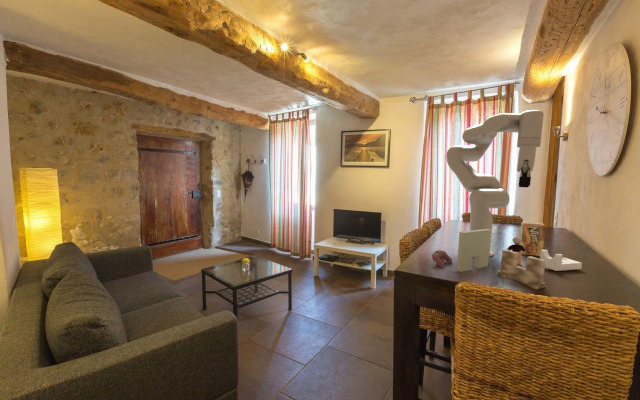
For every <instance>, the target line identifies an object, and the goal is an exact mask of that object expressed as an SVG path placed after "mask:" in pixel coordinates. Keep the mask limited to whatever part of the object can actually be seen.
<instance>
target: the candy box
mask: <svg viewBox="0 0 640 400" xmlns="http://www.w3.org/2000/svg"><path fill="white" fill-rule="evenodd" d="M520 224H521V225H520V234H519V237H521V239H522V242H521V243H520V244H519V245H522V246H523V247H524V249H525V250H526V253H527V254H526V255H527V256H534V257H535V256H536V257H540V252H541V250H544V241H545V236H546V235H545V233H546V232H545V231H546V225H545V224H544V223H539V222H538V223H537V222H536V223H535V222H523V221H522V222H521V223H520ZM521 255H525V254H524V252H523V251H522V250H521Z"/></svg>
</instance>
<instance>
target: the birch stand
mask: <svg viewBox="0 0 640 400" xmlns="http://www.w3.org/2000/svg"><path fill="white" fill-rule="evenodd" d="M517 260H518V253H517V252H513V251H512V250H507V249H502V251H501V259H500V269H499V271H497V276H499V277H502V278H504V279H505V278H508V279H511V280H514V281H517V282H520V283H522V284H525V285H526V286H527V287H528V286H529V287H528V288H531V287H532V288H531V289H535V290H539V289H543V288H545V287H546V282H544V276H545V270H546V269H545V260H542V259H540V257H535V256H532V255H529V256H527V257H526V265H525V267H524V266H523V267H522V266H517Z"/></svg>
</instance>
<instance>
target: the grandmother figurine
mask: <svg viewBox="0 0 640 400" xmlns="http://www.w3.org/2000/svg"><path fill="white" fill-rule="evenodd" d="M511 241H512V242H513V244H511V245H509V246H508V247H507V249H506V250H510V251H513V252H517V253H518V260H517V266H520V267H522V254H521V250H522V251H523V252H524V254H523V255H526V254H527V253H526V250H525V249H524V247H523V246H522V245H519V244H520V243H521V242H522V239H521V237H520V236H517V235H516V236H513V238H512V240H511Z"/></svg>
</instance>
